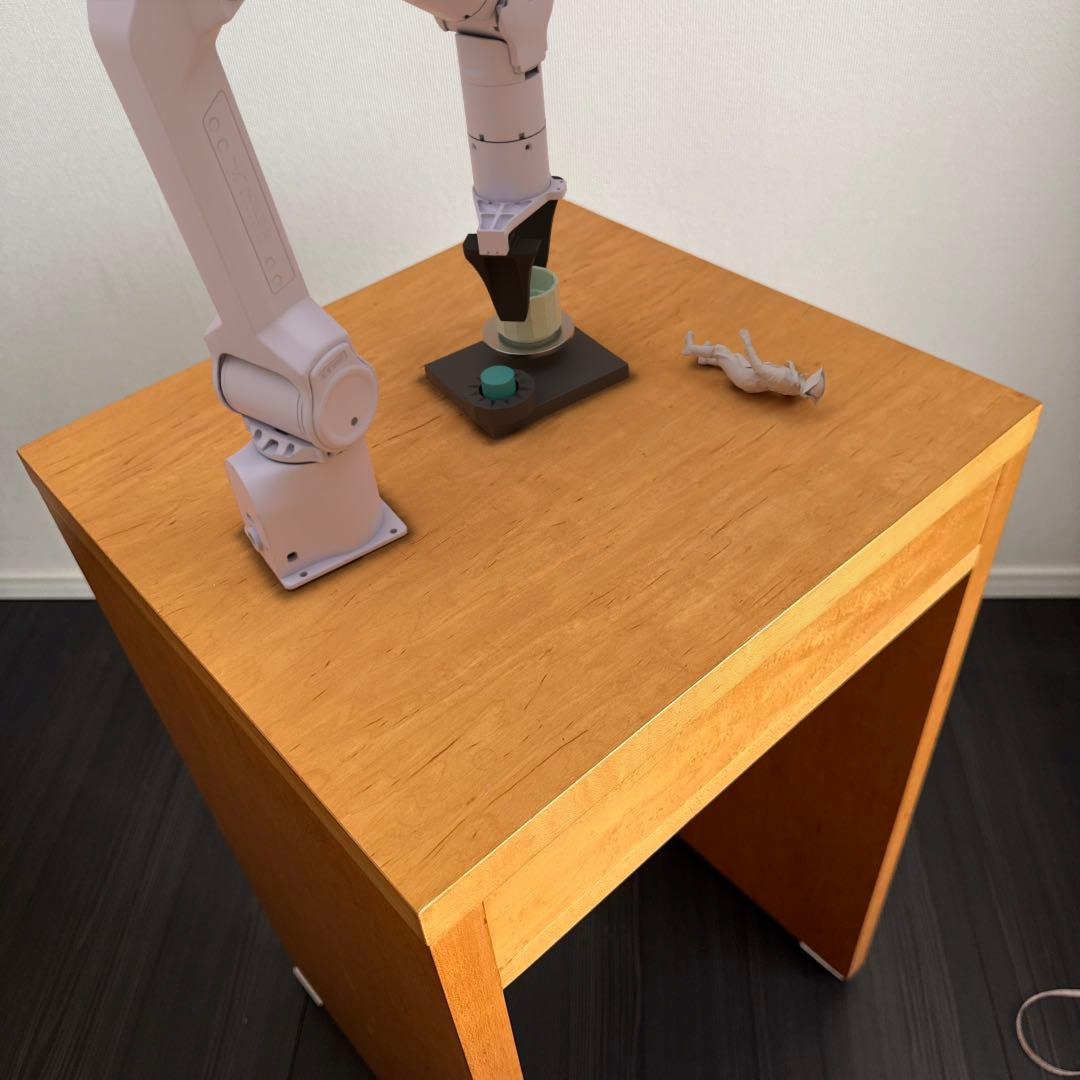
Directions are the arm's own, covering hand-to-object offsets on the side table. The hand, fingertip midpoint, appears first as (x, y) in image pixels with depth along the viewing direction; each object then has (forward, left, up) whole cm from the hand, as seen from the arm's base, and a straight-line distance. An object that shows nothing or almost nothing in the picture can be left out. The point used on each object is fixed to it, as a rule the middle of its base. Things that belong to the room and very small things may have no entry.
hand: (523, 293), depth 90 cm
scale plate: (0, 0, -4) cm, 4 cm away
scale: (-1, -1, -7) cm, 7 cm away
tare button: (-6, -5, -4) cm, 9 cm away
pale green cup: (0, 0, -3) cm, 3 cm away
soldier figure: (+12, -14, -7) cm, 20 cm away
